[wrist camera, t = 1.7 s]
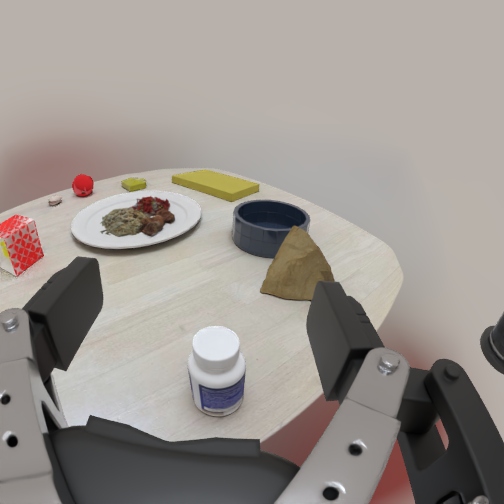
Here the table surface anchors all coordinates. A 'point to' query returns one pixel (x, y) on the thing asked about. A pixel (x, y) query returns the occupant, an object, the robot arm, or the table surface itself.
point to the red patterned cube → (19, 244)
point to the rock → (296, 268)
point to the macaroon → (54, 199)
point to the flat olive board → (216, 184)
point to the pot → (265, 225)
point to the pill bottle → (217, 371)
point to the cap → (82, 185)
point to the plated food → (135, 219)
